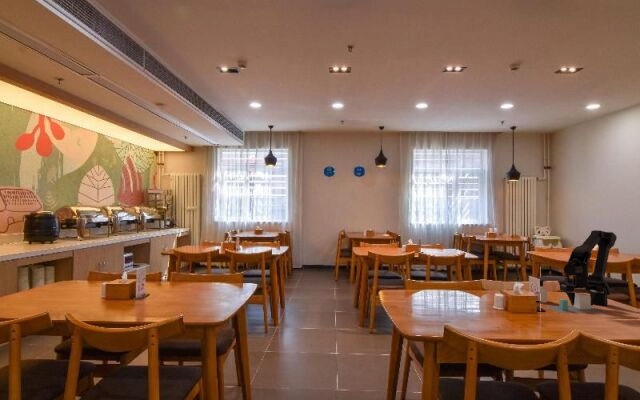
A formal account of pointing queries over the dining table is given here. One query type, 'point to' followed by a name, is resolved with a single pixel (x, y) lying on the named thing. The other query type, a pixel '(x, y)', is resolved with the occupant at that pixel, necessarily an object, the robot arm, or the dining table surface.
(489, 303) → the dining table surface
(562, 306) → the post
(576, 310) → the board
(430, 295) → the dining table surface
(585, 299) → the white rectangular block
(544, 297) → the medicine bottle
